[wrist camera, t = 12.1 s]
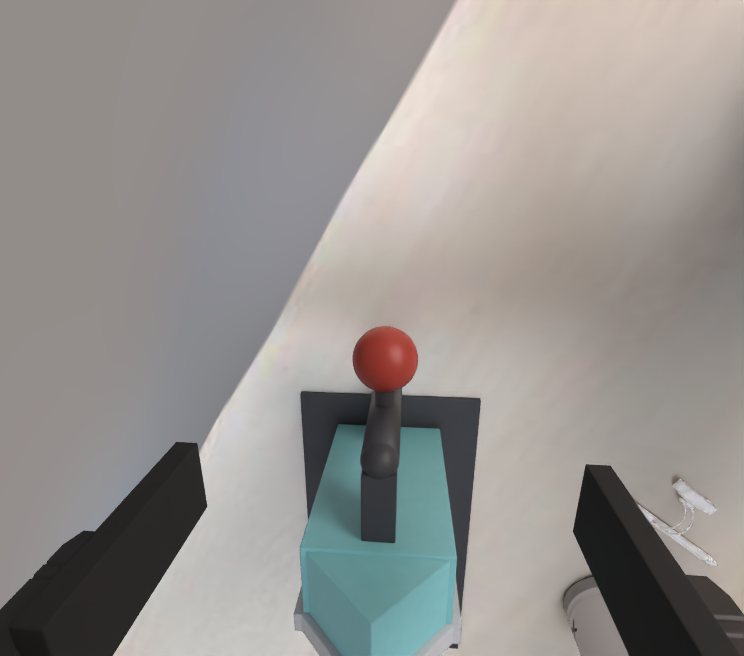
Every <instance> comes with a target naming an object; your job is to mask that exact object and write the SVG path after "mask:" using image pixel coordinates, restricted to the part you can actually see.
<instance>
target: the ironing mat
mask: <svg viewBox="0 0 744 656" xmlns="http://www.w3.org/2000/svg"><path fill="white" fill-rule="evenodd" d="M300 395H301V412H302V428H303V444H304V460H305V476H306V493H307V509H308V519H309V516H310V513H311V510H312V507H313V504H314V500H315V497H316V494H317V491H318V488H319V484H320V481H321V478H322V475H323V472H324V468H325V465H326V462H327V459H328V456H329V452H330V449H331V446H332V443H333V440H334V436H335V433H336V430H337V427H338V424H344V425H366V424H367V419H368V413H369V408H370V403H371V398H372V394H351V393H325V392H301V394H300ZM480 403H481V400H480V399H479V398H454V397H428V396H402V403H401V427H412V428H434V429H440V435H441V442H442V450H443V457H444V465H445V472H446V480H447V487H448V495H449V502H450V510H451V517H452V525H453V532H454V540H455V547H456V555H457V565H456V584H457V592H458V600H459V608H460V617H461V608H462V597H463V587H464V576H465V565H466V554H467V544H468V533H469V522H470V511H471V500H472V490H473V479H474V468H475V457H476V446H477V436H478V425H479V414H480ZM449 648H456V649H458V644H453V643H452V645H451V646H450V647H449Z"/></svg>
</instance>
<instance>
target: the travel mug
mask: <svg viewBox="0 0 744 656" xmlns="http://www.w3.org/2000/svg"><path fill="white" fill-rule="evenodd" d="M563 607H564V610H565V613H566V616H567V619H568V621H569V624H570V626H571V630H572V633H573V635H574V638H575V641H576V644H577V646H578V649H579V652H580V655H581V656H629V655H628V652H627V650H626V648H625V646H624V644H623V641H622V639H621V637H620V635H619V632H618V630H617V628H616V626H615V624H614V621H613V619H612V617H611V615H610V613H609V610H608V608H607V606H606V604H605V601H604V599H603V597H602V595H601V593H600V590H599V588H598V586H597V584H596V582H595V579H594V577H589V578H586V579H583V580H581V581H579V582H577V583H575V584H574V585H573V586H572V587H571V588H570V589H569V590H568V591H567V593H566V595H565V597H564V601H563Z"/></svg>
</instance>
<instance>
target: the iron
mask: <svg viewBox="0 0 744 656" xmlns="http://www.w3.org/2000/svg"><path fill="white" fill-rule="evenodd" d="M352 360H353V367H354V370H355V373H356V375H357V377H358V378H359V379H360V381H361V382H362V383H363V384H364V385H366V386H367V387H369V388H370V389H373V392H372V398H371V403H370V408H369V413H368V419H367V424H366V425H344V424H338V427H337V430H336V433H335V436H334V440H333V443H332V446H331V449H330V452H329V456H328V459H327V462H326V465H325V468H324V472H323V475H322V478H321V481H320V484H319V488H318V491H317V494H316V497H315V500H314V504H313V507H312V510H311V513H310V516H309V519H308V523H307V526H306V529H305V532H304V535H303V539H302V542H301V545H300V562H301V579H302V586H301V590H300V593H299V597H298V601H297V604H296V608H295V612H294V624H295V630H297V631H303V633H304V634H305V636H306V637H307V638H308V640H309V641H310V643H311V644H312V645H313V647H314V648H315V650H316V651H317V653H318V654H319V655H320V656H441V655H442V654H443V653H444V652H445V651H446V650H447V649H448V648H449V647H450V646H451V645H452V643H453V644H460V643H461V632H462V625H461V617H460V608H459V600H458V592H457V584H456V565H457V555H456V547H455V540H454V532H453V525H452V517H451V510H450V502H449V495H448V487H447V480H446V472H445V465H444V457H443V450H442V442H441V435H440V429H434V428H412V427H401V403H402V387H404V386H405V385H406V384H407V383H409V381H410V380H411V379H412V378H413V376H414V374H415V372H416V369H417V365H418V354H417V350H416V347H415V345H414V343H413V341H412V340H411V338H410V337H409V336H408V335H407V334H405V333H404V332H403V331H401V330H399V329H396V328H393V327H387V326H383V327H377V328H374V329H371V330H370V331H368V332H366V333H365V334H364V335H363V336H362V337H361V338H360V339H359V340H358V342H357V344H356V346H355V348H354V351H353V359H352Z"/></svg>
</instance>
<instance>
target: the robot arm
mask: <svg viewBox="0 0 744 656" xmlns="http://www.w3.org/2000/svg"><path fill="white" fill-rule="evenodd" d="M206 508H207V502H206V495H205V489H204V483H203V476H202V470H201V464H200V457H199V451H198V445H197V443H185V442H176V443H175V444H174V445H173V446H172V448H171V449H170V450H169V451H168V452H167V453H166V454H165V455H164V456H163V457H162V458H161V460H160V461H159V462H158V463H157V464H156V465H155V466H154V467H153V468H152V469H151V470H150V472H149V473H148V474H147V475H146V476H145V477H144V478H143V479H142V480H141V481H140V483H139V484H138V485H137V486H136V487H135V488H134V489H133V490H132V491H131V492H130V494H129V495H128V496H127V497H126V498H125V499H124V500H123V501H122V502H121V504H120V505H119V506H118V507H117V508H116V509H115V510H114V511H113V512H112V513H111V515H110V516H109V517H108V518H107V519H106V520H105V521H104V522H103V523H102V524H101V526H99V528H98V529H97V530H96V531H95V532H94V531H83V532H81V533H80V534H78V535H77V536H75V537H74V538H72V539H71V540H69V541H68V542H66V543H65V544H63V545H62V546H61V547H60V548H59V549H58V550H57V551H56V552H55V554H54V555H53V556H52V557H51V558H50V559H49V560H48V561H47V564H46V565H43V566H42V567H41V568H40V569H39V570H38V571H37V572H36V573H35V574H34V577H33V578H32V579H29V581H28V582H26V584H25V585H24V586H23V587H22V588H21V589H20V590H19V591H18V592H17V593H16V594H15V595H14V596H13V597H12V598H11V599H10V600H9V601H8V602H7V603H6V604H5V605H4V606H3V607H2V608H1V610H0V656H113V654H114V653H115V651H116V650H117V648H118V646H119V645H120V643H121V642H122V640H123V638H124V637H125V635H126V634H127V632H128V631H129V629H130V627H131V626H132V624H133V623H134V621H135V620H136V618H137V616H138V615H139V613H140V612H141V610H142V609H143V607H144V605H145V604H146V602H147V601H148V599H149V598H150V596H151V594H152V593H153V591H154V590H155V588H156V587H157V585H158V583H159V582H160V580H161V579H162V577H163V576H164V574H165V572H166V571H167V569H168V568H169V566H170V565H171V563H172V561H173V560H174V558H175V557H176V555H177V554H178V552H179V550H180V549H181V547H182V546H183V544H184V542H185V541H186V539H187V538H188V536H189V535H190V533H191V531H192V530H193V528H194V527H195V525H196V524H197V522H198V520H199V519H200V517H201V516H202V514H203V513H204V511H205V509H206ZM573 533H574V535H575V537H576V540H577V542H578V544H579V546H580V548H581V551H582V553H583V555H584V557H585V559H586V562H587V564H588V566H589V568H590V570H591V573H592V575H593V577H594V579H595V582H596V584H597V586H598V588H599V590H600V593H601V595H602V597H603V599H604V601H605V604H606V606H607V608H608V610H609V613H610V615H611V617H612V619H613V621H614V624H615V626H616V628H617V630H618V632H619V635H620V637H621V639H622V641H623V644H624V646H625V648H626V650H627V652H628V655H629V656H744V614H743V613H742V612H741V610H740V609H739V608H738V606H737V605H736V604H735V602H734V601H733V600H732V598H731V597H730V596H729V595H728V594H727V593H726V592H724V591H723V590H722V589H721V588H720V587H718V586H717V585H716V584H715V583H714V582H713V581H711V580H710V579H709V578H708V577H707V576H693V575H685V573H684V572H683V570H682V569H681V567H680V566H679V565H678V563H677V562H676V560H675V559H674V557H673V556H672V554H671V553H670V551H669V550H668V549H667V547H666V546H665V544H664V543H663V541H662V540H661V538H660V537H659V535H658V534H657V533H656V531H655V530H654V528H653V527H652V525H651V524H650V522H649V521H648V519H647V518H646V517H645V515H644V514H643V512H642V511H641V509H640V508H639V506H638V505H637V504H636V502H635V501H634V499H633V498H632V496H631V495H630V493H629V492H628V490H627V489H626V488H625V486H624V485H623V483H622V482H621V480H620V479H619V477H618V476H617V474H616V473H615V472H614V470H613V469H612V467H611V466H607V465H589V464H586V466H585V471H584V476H583V481H582V487H581V492H580V497H579V502H578V507H577V513H576V518H575V523H574V528H573Z"/></svg>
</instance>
